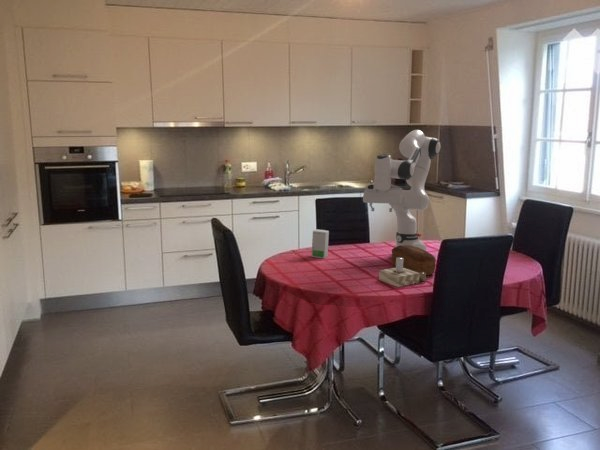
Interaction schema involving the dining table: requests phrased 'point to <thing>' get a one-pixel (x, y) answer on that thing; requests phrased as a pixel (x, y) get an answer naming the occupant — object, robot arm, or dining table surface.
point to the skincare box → (320, 243)
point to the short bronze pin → (422, 277)
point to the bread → (414, 259)
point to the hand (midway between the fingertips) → (381, 211)
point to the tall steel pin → (399, 265)
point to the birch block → (398, 277)
